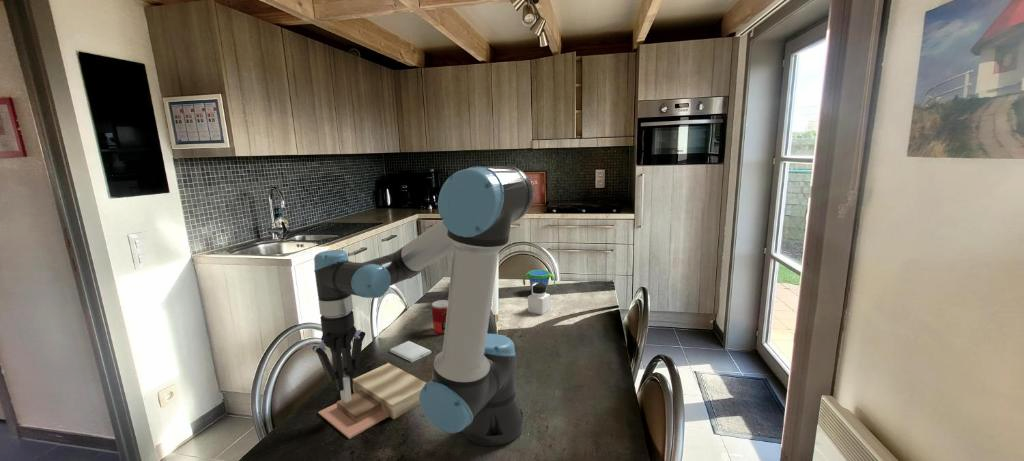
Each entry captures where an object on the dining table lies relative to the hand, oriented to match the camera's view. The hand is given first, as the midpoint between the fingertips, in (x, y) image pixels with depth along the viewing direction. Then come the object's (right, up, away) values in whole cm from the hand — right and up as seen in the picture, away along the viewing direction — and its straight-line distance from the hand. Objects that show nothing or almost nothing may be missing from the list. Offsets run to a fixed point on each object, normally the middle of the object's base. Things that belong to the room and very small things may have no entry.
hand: (346, 399), depth 105 cm
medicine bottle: (+54, +9, +70) cm, 89 cm away
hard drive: (+8, +1, +36) cm, 37 cm away
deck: (+8, -3, +11) cm, 14 cm away
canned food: (+16, +5, +53) cm, 56 cm away
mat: (+1, -5, +2) cm, 5 cm away
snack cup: (+56, +13, +93) cm, 110 cm away
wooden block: (+2, -4, +3) cm, 6 cm away
